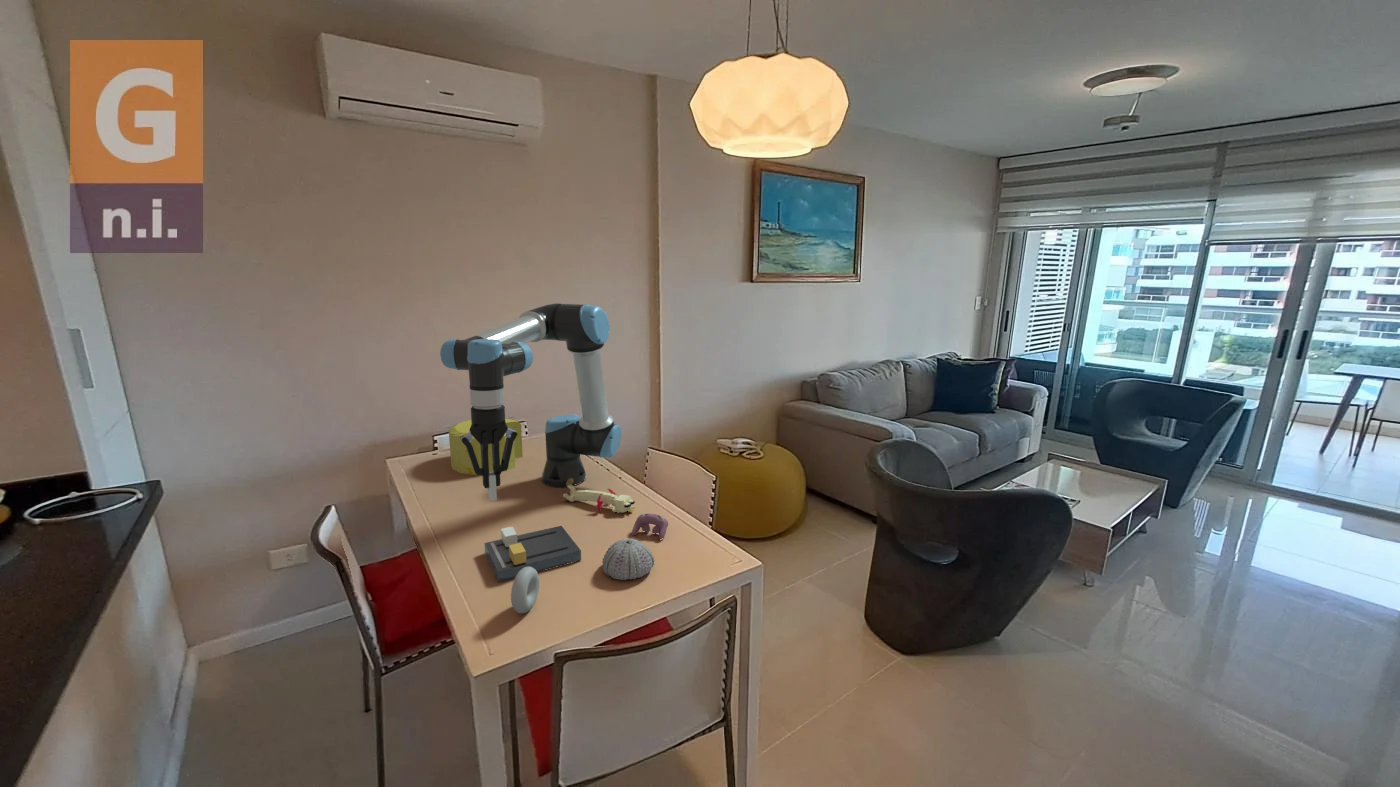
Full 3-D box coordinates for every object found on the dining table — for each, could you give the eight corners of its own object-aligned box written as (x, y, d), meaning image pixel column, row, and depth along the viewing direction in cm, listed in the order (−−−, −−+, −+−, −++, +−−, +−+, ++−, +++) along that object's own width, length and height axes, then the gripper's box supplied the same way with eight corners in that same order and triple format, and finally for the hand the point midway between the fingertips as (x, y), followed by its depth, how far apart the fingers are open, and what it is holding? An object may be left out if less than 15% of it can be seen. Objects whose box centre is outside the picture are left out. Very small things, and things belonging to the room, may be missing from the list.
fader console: (561, 535, 161) (561, 525, 160) (581, 560, 148) (580, 550, 147) (485, 553, 150) (484, 542, 150) (498, 582, 137) (497, 571, 136)
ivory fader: (512, 536, 153) (512, 526, 152) (517, 544, 149) (516, 534, 148) (501, 539, 151) (500, 528, 151) (505, 547, 147) (505, 536, 147)
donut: (528, 595, 132) (526, 557, 130) (542, 597, 132) (540, 558, 129) (509, 622, 123) (506, 581, 120) (524, 623, 122) (522, 582, 120)
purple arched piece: (667, 541, 163) (671, 516, 164) (662, 541, 158) (666, 516, 160) (635, 535, 166) (640, 511, 167) (629, 535, 161) (634, 510, 163)
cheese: (537, 462, 217) (535, 425, 214) (473, 481, 198) (470, 440, 194) (501, 446, 234) (499, 412, 230) (438, 462, 214) (435, 425, 211)
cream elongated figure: (559, 509, 181) (626, 518, 172) (556, 483, 179) (624, 491, 170) (576, 497, 190) (641, 505, 180) (574, 473, 188) (640, 479, 179)
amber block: (521, 553, 145) (520, 542, 144) (526, 562, 140) (525, 551, 140) (509, 556, 143) (508, 545, 142) (514, 565, 139) (513, 554, 138)
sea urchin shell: (592, 578, 140) (591, 549, 139) (617, 552, 153) (617, 525, 151) (639, 589, 136) (639, 560, 134) (662, 562, 148) (662, 535, 147)
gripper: (512, 399, 139) (515, 489, 144) (455, 404, 132) (461, 498, 137) (519, 406, 132) (523, 499, 137) (460, 411, 126) (466, 510, 131)
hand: (492, 499), depth 137 cm, fingers closed
